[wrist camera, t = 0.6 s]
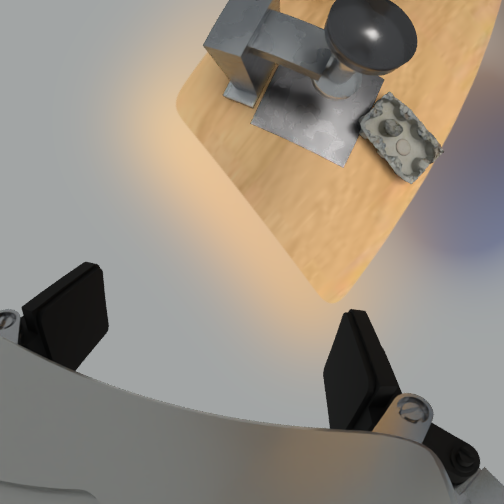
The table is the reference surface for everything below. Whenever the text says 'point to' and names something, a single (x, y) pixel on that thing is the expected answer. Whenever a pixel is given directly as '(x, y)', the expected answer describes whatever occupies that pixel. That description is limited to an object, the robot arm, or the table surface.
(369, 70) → the disc
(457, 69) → the table surface
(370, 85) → the press frame
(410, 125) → the egg carton
